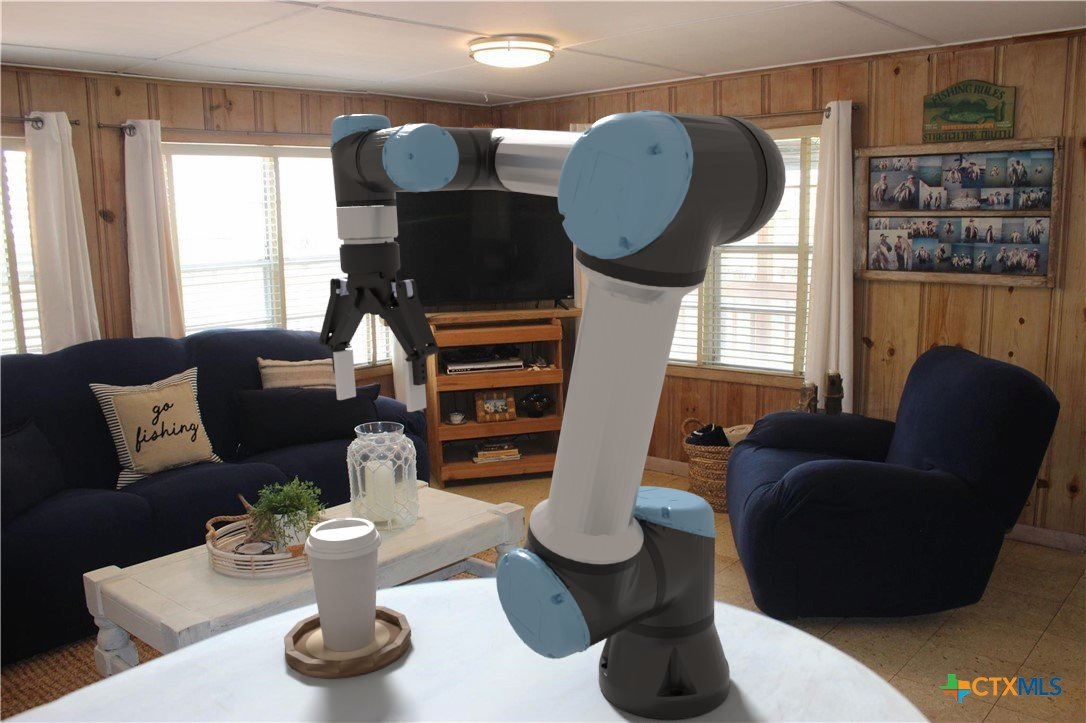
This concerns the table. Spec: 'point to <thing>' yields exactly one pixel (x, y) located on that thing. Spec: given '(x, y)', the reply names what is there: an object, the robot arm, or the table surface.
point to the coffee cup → (345, 580)
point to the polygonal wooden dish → (321, 662)
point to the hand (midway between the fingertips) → (380, 403)
